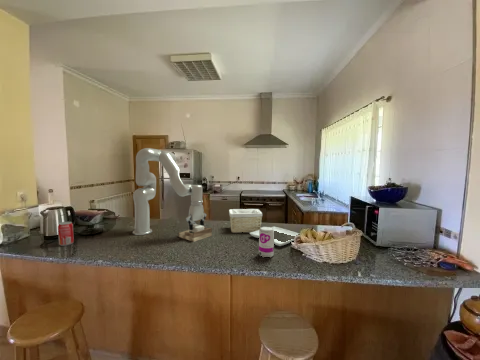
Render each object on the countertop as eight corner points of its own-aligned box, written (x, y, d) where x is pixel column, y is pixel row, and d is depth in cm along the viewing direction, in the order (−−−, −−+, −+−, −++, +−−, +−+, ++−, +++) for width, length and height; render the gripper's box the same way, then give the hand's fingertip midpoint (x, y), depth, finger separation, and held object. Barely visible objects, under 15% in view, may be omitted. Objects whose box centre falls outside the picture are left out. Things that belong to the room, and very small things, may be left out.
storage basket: (229, 233, 161) (230, 213, 160) (228, 227, 177) (228, 208, 176) (262, 232, 163) (263, 213, 162) (258, 226, 180) (258, 208, 179)
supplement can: (269, 259, 118) (270, 231, 116) (255, 255, 122) (256, 228, 121) (275, 254, 124) (276, 228, 123) (262, 251, 129) (263, 225, 128)
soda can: (76, 243, 135) (75, 222, 134) (62, 247, 129) (62, 225, 128) (69, 241, 138) (68, 220, 137) (56, 245, 132) (55, 223, 131)
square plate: (280, 249, 132) (280, 243, 132) (248, 237, 153) (248, 232, 153) (305, 240, 150) (305, 234, 150) (274, 230, 171) (274, 225, 170)
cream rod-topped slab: (187, 232, 153) (187, 223, 152) (194, 230, 157) (194, 221, 157) (197, 235, 147) (197, 225, 146) (204, 233, 151) (204, 223, 151)
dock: (178, 236, 152) (178, 228, 151) (196, 231, 164) (196, 223, 164) (193, 241, 142) (193, 233, 141) (211, 235, 154) (211, 227, 154)
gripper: (202, 201, 160) (202, 224, 161) (182, 204, 146) (182, 229, 147) (209, 202, 155) (209, 226, 156) (190, 205, 141) (190, 232, 143)
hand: (196, 228), depth 152 cm, fingers open, 9 cm apart
